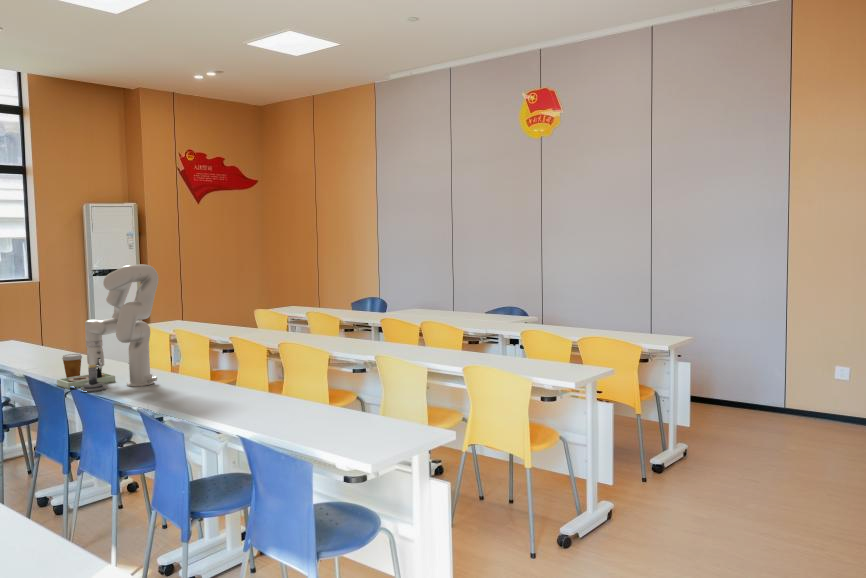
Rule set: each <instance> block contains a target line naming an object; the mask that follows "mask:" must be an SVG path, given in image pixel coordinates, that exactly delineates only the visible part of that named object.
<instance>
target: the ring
mask: <svg viewBox="0 0 866 578" xmlns="http://www.w3.org/2000/svg"><path fill="white" fill-rule="evenodd" d="M102 377H105V374H102ZM83 380H89V376H88V377H76V378H71V379H68V382H69V383H70V382H76V381H83Z"/></svg>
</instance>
